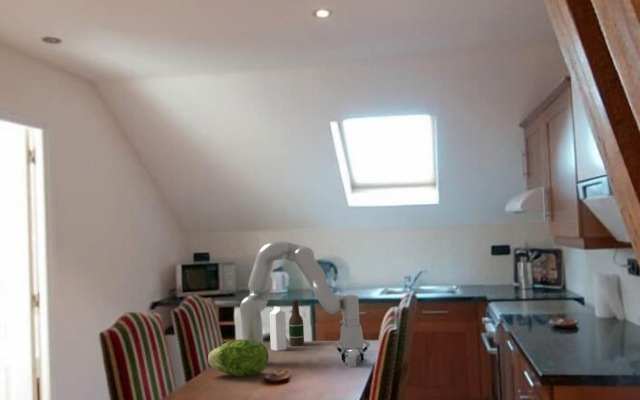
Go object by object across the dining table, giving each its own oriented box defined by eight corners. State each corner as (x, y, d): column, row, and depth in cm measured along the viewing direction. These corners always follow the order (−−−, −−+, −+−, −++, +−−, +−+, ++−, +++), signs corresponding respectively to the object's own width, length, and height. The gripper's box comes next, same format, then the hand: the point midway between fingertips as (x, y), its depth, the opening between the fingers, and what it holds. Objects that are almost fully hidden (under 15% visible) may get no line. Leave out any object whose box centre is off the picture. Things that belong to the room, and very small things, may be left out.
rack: (359, 356, 279) (358, 342, 279) (342, 357, 280) (341, 343, 280) (361, 349, 297) (360, 335, 297) (345, 349, 297) (344, 336, 298)
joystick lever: (357, 367, 259) (356, 356, 259) (346, 367, 259) (346, 357, 260) (359, 358, 276) (358, 348, 276) (349, 358, 277) (349, 348, 277)
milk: (276, 351, 300) (275, 307, 301) (270, 349, 305) (268, 306, 306) (286, 349, 304) (285, 306, 305) (280, 347, 309) (278, 305, 310)
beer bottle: (303, 346, 310) (302, 300, 311) (289, 346, 310) (287, 301, 312) (304, 343, 318) (302, 298, 319) (290, 343, 318) (288, 299, 319)
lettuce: (214, 371, 262) (213, 336, 262) (272, 371, 257) (271, 335, 258) (202, 380, 247) (201, 343, 248) (264, 380, 243) (262, 342, 243)
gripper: (331, 324, 264) (332, 364, 263) (370, 323, 262) (371, 363, 261) (332, 321, 271) (334, 360, 270) (370, 321, 269) (372, 359, 268)
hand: (352, 361), depth 266 cm, fingers open, 7 cm apart
